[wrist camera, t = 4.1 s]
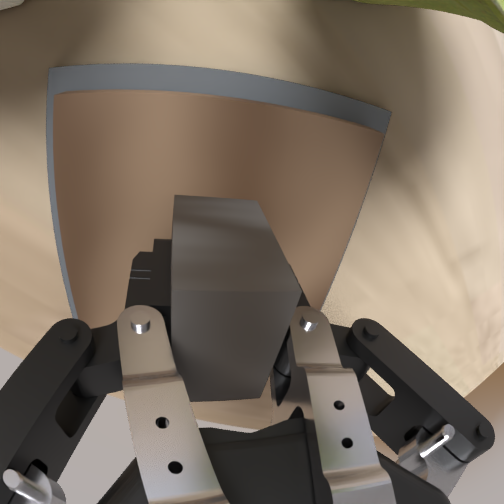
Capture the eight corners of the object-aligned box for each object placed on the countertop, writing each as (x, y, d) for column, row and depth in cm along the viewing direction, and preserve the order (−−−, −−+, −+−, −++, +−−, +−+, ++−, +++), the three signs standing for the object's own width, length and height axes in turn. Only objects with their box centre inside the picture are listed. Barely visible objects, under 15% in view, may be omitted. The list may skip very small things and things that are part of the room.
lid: (89, 328, 15) (73, 431, 10) (66, 91, 8) (-36, 131, 3) (297, 330, 18) (334, 420, 13) (369, 126, 12) (477, 186, 7)
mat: (80, 330, 16) (78, 337, 15) (53, 67, 8) (49, 67, 8) (305, 332, 19) (308, 338, 19) (385, 109, 12) (391, 111, 11)
